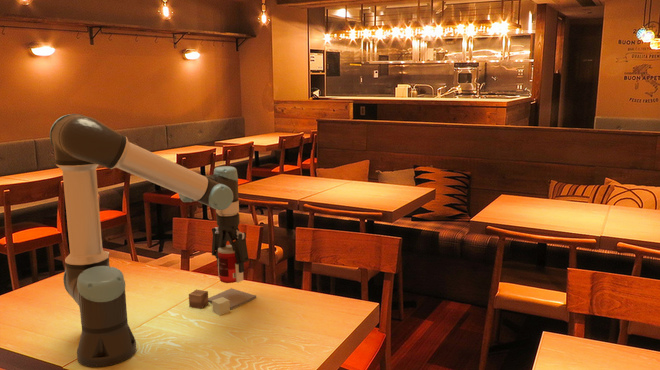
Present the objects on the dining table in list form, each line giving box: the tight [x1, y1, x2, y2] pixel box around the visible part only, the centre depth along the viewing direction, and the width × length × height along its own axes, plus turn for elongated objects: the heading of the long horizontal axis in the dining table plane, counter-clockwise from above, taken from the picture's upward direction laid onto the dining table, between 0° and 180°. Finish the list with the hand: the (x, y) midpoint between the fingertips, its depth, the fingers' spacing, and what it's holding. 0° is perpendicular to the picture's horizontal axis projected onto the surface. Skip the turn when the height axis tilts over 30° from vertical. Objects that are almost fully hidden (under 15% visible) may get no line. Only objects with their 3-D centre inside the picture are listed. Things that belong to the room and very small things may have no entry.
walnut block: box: [188, 289, 210, 310], centre depth 185 cm, size 4×4×4 cm
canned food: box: [218, 244, 241, 284], centre depth 188 cm, size 8×8×11 cm
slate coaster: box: [208, 287, 257, 310], centre depth 190 cm, size 12×12×1 cm
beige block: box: [211, 297, 231, 317], centre depth 180 cm, size 4×4×4 cm
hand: (230, 278), depth 189 cm, fingers closed on canned food, 8 cm apart
